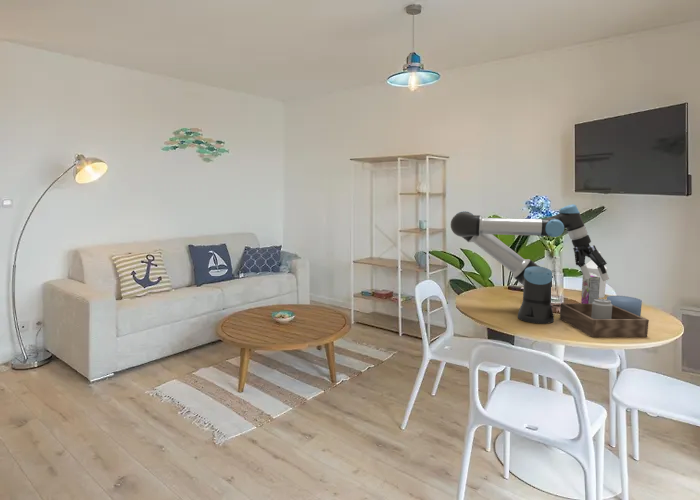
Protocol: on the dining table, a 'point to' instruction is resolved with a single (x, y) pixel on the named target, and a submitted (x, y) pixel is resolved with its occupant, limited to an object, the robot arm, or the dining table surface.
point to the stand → (627, 303)
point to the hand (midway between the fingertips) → (596, 279)
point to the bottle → (593, 269)
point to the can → (601, 309)
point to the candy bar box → (590, 289)
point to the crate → (604, 322)
